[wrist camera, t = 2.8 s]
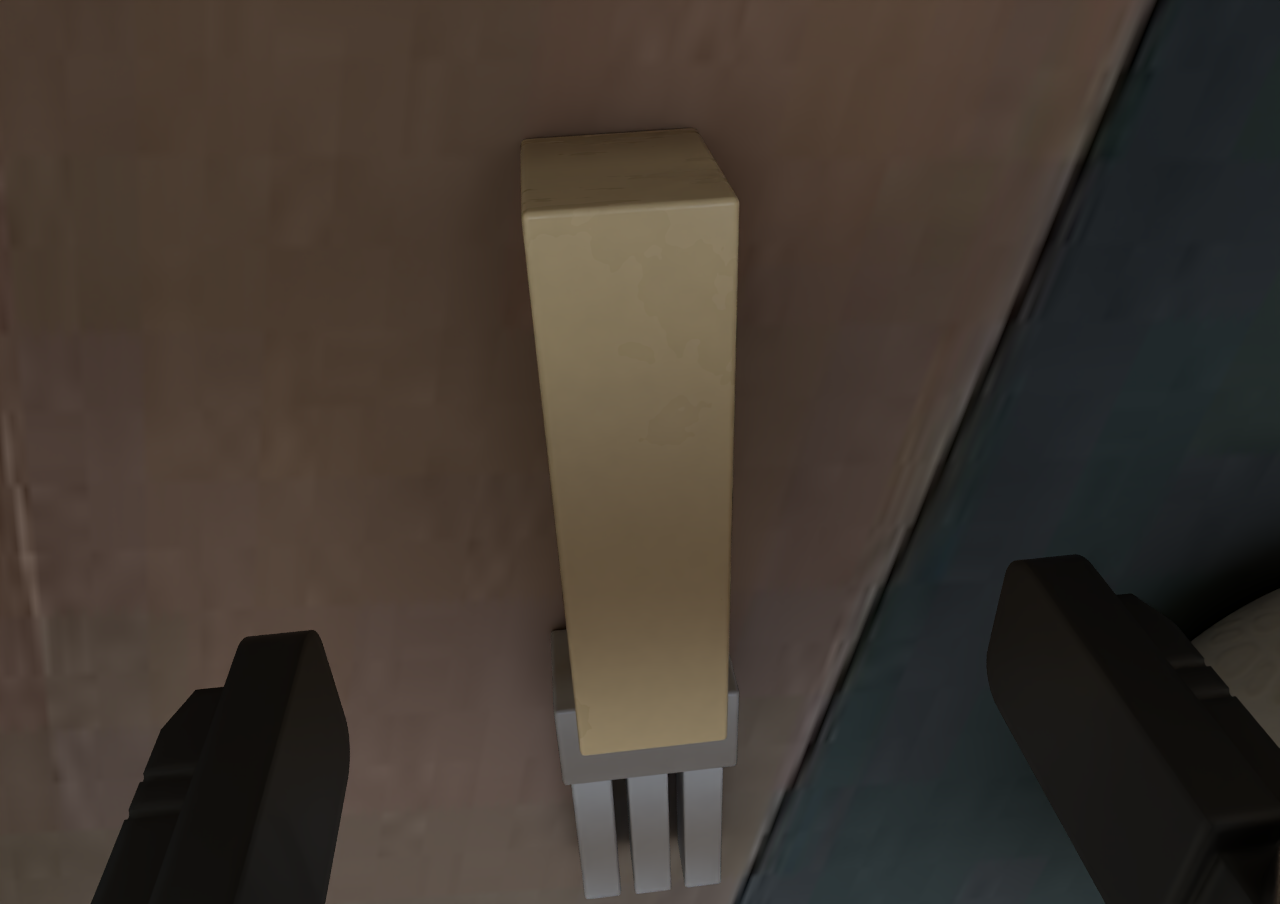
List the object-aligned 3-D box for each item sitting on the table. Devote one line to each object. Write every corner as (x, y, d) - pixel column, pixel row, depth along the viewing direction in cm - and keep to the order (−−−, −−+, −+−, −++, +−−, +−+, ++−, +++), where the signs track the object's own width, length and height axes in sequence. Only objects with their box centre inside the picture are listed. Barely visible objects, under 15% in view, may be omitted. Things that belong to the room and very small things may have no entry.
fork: (489, 139, 13) (483, 216, 10) (726, 124, 13) (777, 196, 10) (577, 851, 21) (585, 985, 19) (715, 835, 22) (741, 966, 19)
